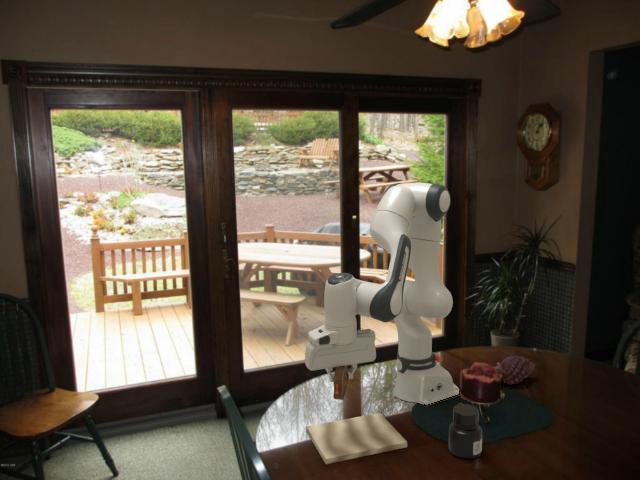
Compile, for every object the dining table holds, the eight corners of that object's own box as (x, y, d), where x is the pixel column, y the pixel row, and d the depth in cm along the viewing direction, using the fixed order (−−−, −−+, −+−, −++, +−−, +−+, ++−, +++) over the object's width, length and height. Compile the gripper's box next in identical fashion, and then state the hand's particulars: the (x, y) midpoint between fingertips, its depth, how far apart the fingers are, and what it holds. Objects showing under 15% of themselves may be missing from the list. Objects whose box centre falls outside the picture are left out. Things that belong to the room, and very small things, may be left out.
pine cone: (525, 373, 193) (526, 347, 192) (544, 384, 184) (546, 357, 182) (484, 381, 187) (485, 354, 186) (502, 392, 178) (504, 364, 177)
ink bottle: (484, 461, 138) (485, 419, 137) (449, 459, 140) (450, 417, 138) (479, 442, 148) (480, 402, 146) (447, 440, 149) (447, 400, 147)
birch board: (379, 417, 163) (379, 412, 163) (407, 447, 146) (407, 442, 146) (306, 431, 156) (306, 426, 155) (325, 464, 139) (325, 459, 138)
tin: (342, 405, 139) (344, 375, 138) (330, 404, 140) (333, 374, 139) (348, 382, 154) (350, 355, 153) (337, 381, 155) (339, 354, 153)
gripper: (370, 324, 151) (370, 370, 153) (302, 333, 144) (303, 380, 147) (379, 331, 145) (380, 378, 147) (309, 340, 138) (310, 390, 141)
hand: (341, 379), depth 147 cm, fingers closed on tin, 4 cm apart
